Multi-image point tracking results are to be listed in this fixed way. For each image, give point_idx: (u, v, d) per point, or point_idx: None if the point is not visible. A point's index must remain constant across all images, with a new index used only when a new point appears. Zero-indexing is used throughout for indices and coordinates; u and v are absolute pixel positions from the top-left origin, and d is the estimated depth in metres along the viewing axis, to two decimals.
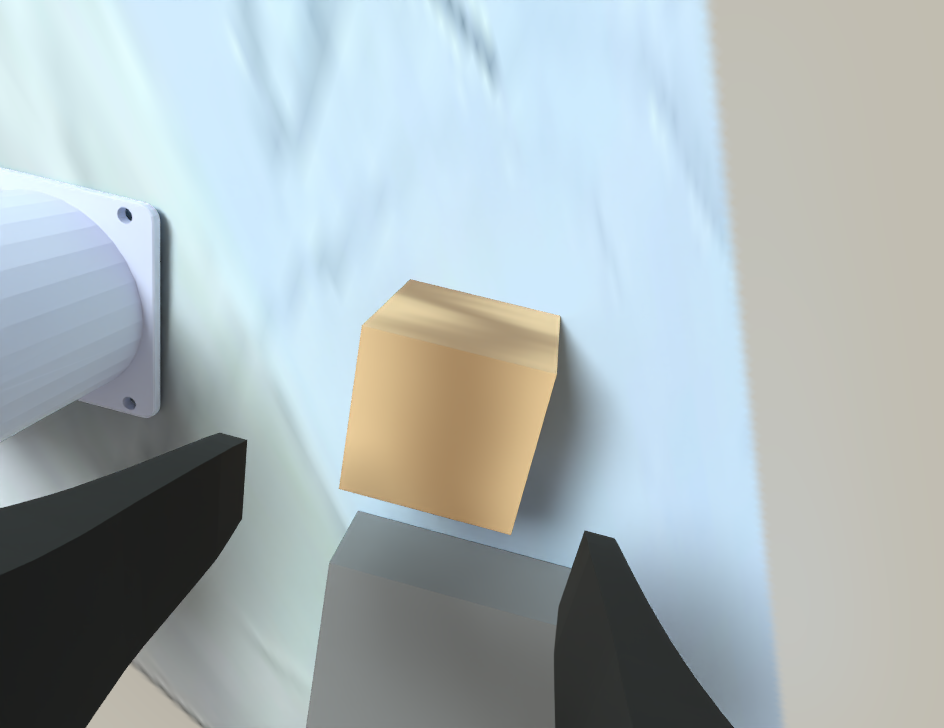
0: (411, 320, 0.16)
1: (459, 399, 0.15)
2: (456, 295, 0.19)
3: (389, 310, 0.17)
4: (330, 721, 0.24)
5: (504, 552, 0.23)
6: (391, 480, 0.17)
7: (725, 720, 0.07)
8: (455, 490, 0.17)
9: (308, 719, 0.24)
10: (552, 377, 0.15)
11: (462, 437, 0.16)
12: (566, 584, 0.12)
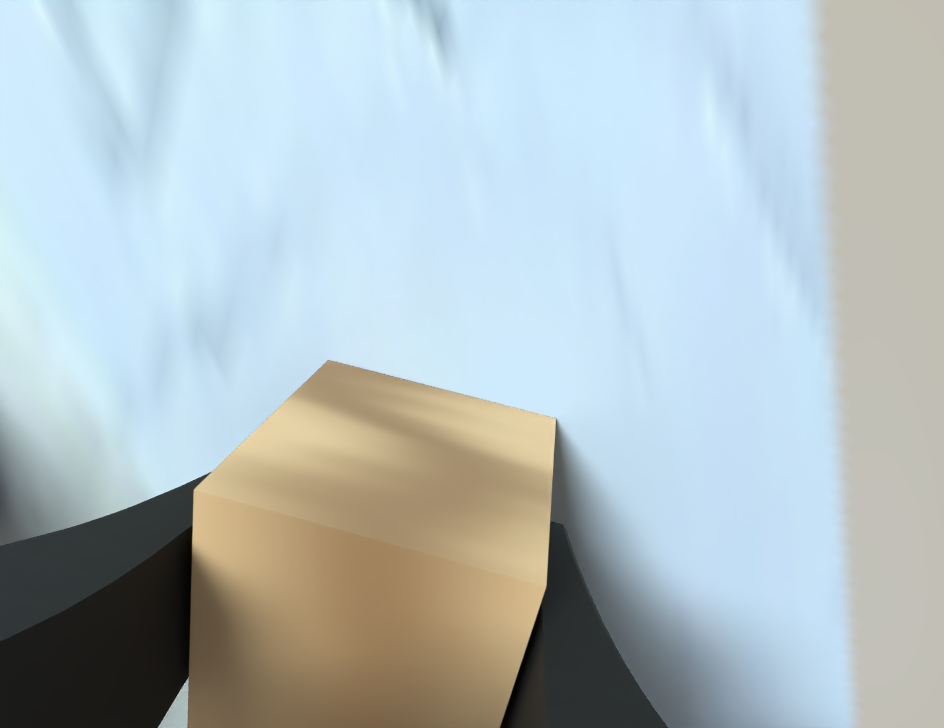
0: (297, 462, 0.09)
1: (373, 615, 0.09)
2: (395, 388, 0.12)
3: (264, 440, 0.10)
4: None
5: None
6: (269, 725, 0.10)
7: (643, 697, 0.08)
8: None
9: None
10: (538, 590, 0.08)
11: (382, 672, 0.09)
12: None
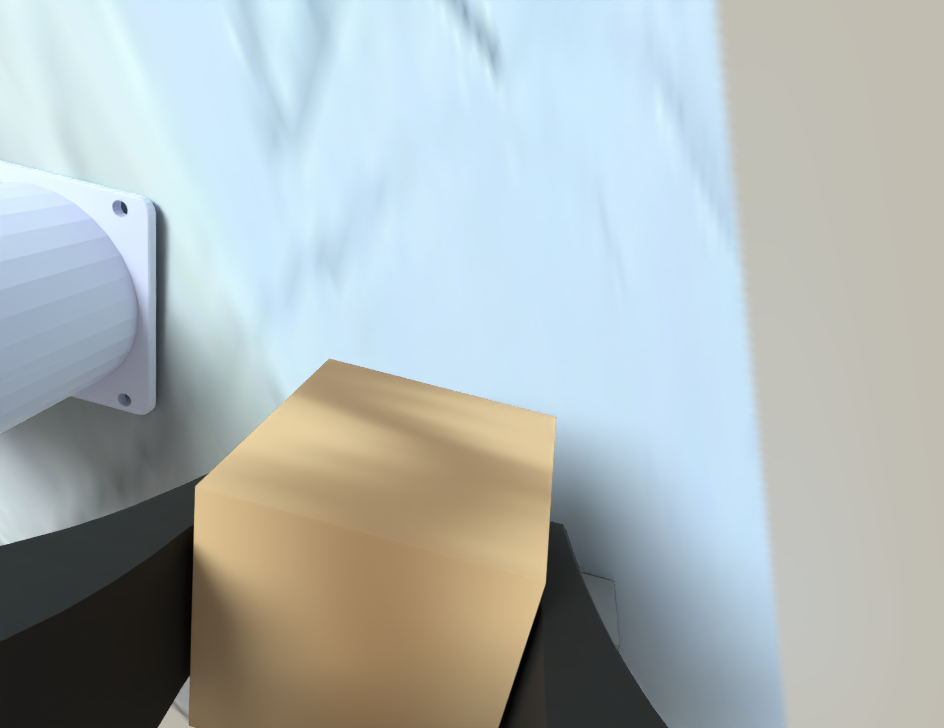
0: (297, 459, 0.09)
1: (373, 612, 0.09)
2: (396, 387, 0.12)
3: (265, 437, 0.10)
4: None
5: None
6: (270, 721, 0.10)
7: (643, 697, 0.08)
8: None
9: None
10: (537, 587, 0.08)
11: (382, 668, 0.09)
12: None
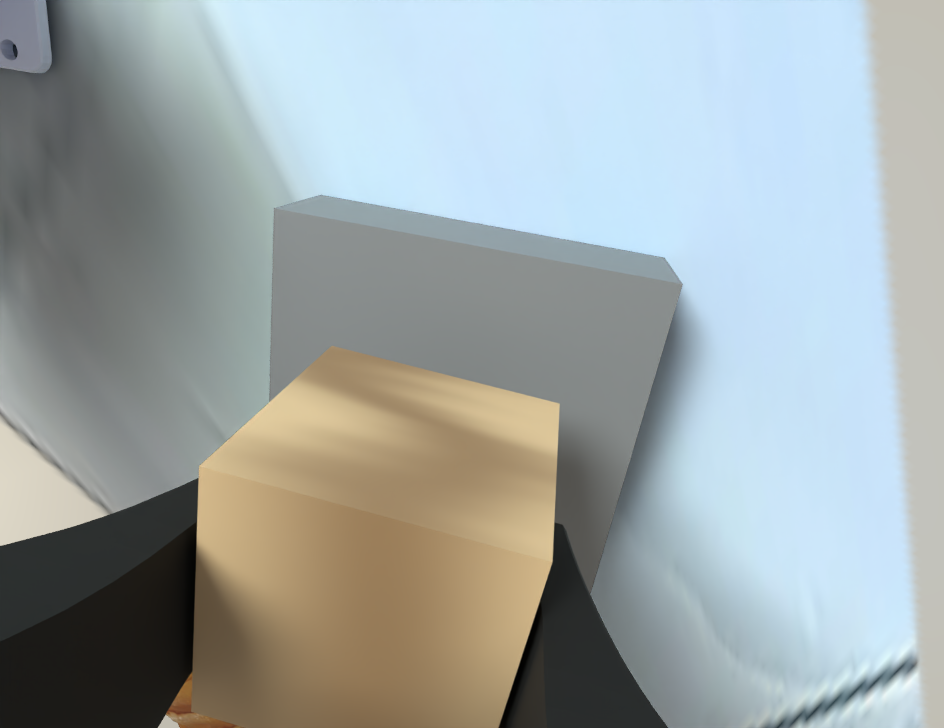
0: (302, 442, 0.09)
1: (378, 592, 0.09)
2: (399, 374, 0.12)
3: (268, 420, 0.10)
4: None
5: (517, 231, 0.17)
6: (273, 706, 0.10)
7: (643, 696, 0.08)
8: (380, 727, 0.10)
9: None
10: (544, 566, 0.08)
11: (387, 651, 0.09)
12: None
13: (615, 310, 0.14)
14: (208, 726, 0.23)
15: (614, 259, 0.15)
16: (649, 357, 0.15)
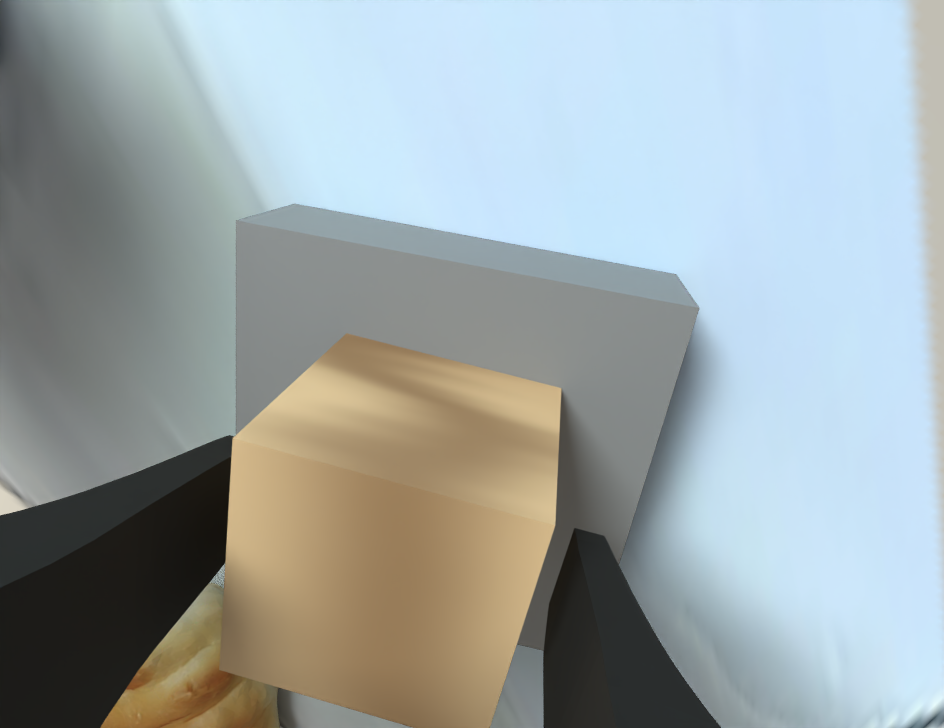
0: (324, 418, 0.10)
1: (395, 556, 0.09)
2: (410, 359, 0.13)
3: (292, 399, 0.11)
4: None
5: (512, 244, 0.15)
6: (296, 663, 0.11)
7: (709, 715, 0.08)
8: (395, 683, 0.10)
9: None
10: (548, 529, 0.09)
11: (403, 611, 0.10)
12: (556, 581, 0.12)
13: (622, 337, 0.13)
14: None
15: (620, 277, 0.14)
16: (660, 389, 0.13)
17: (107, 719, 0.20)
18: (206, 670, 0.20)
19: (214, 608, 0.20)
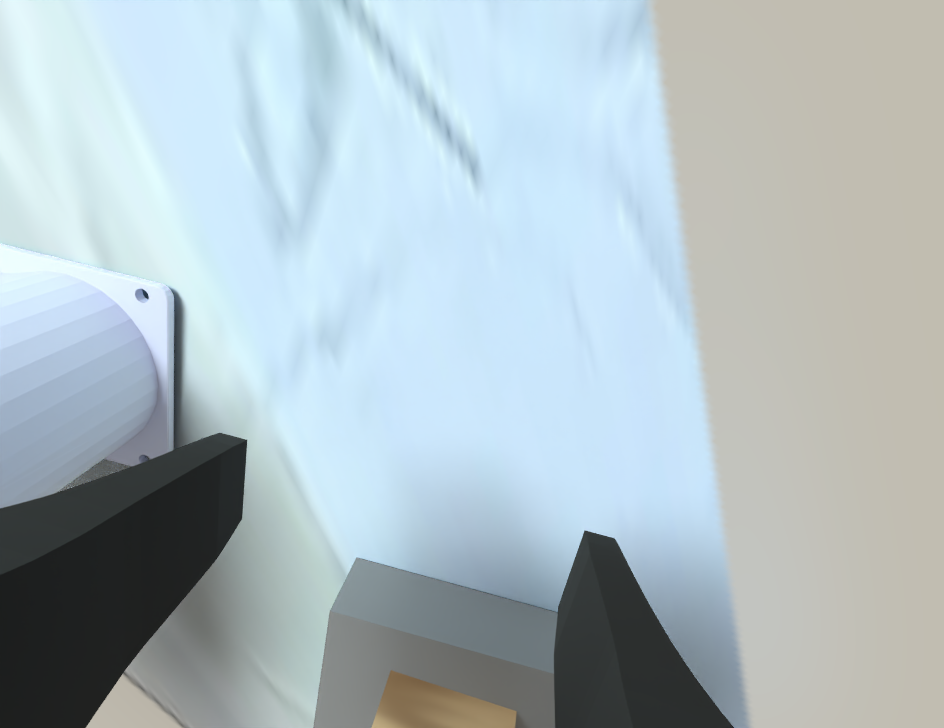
0: None
1: None
2: (429, 695, 0.22)
3: None
4: None
5: (492, 596, 0.25)
6: None
7: (725, 720, 0.07)
8: None
9: None
10: None
11: None
12: (566, 584, 0.12)
13: (552, 692, 0.22)
14: None
15: None
16: None
17: None
18: None
19: None
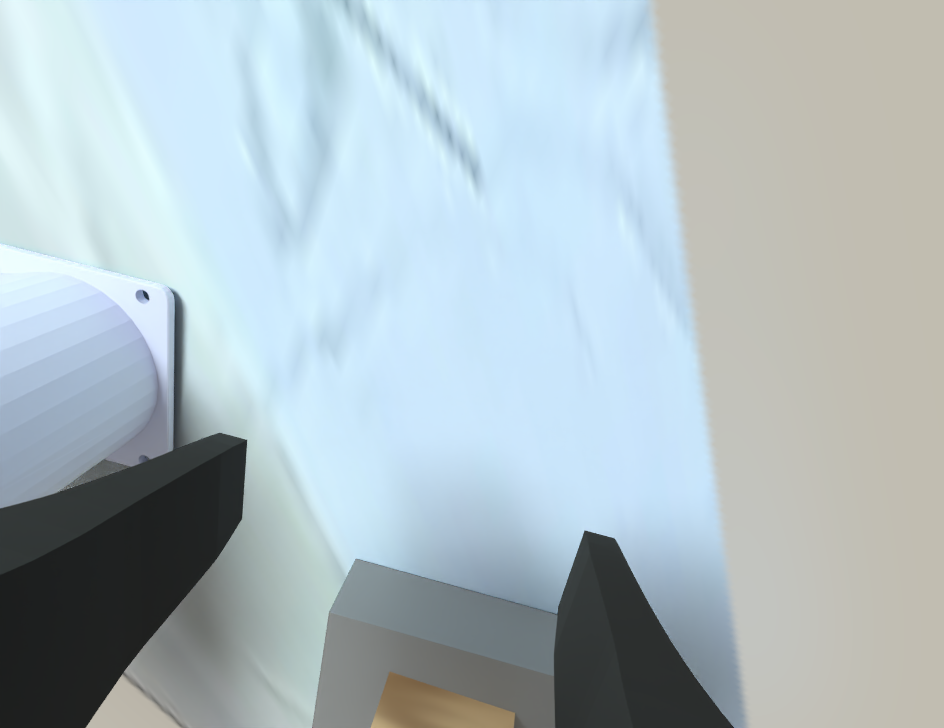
0: None
1: None
2: (427, 697, 0.23)
3: None
4: None
5: (491, 598, 0.25)
6: None
7: (725, 720, 0.07)
8: None
9: None
10: None
11: None
12: (566, 584, 0.12)
13: (550, 694, 0.22)
14: None
15: (553, 644, 0.23)
16: None
17: None
18: None
19: None
